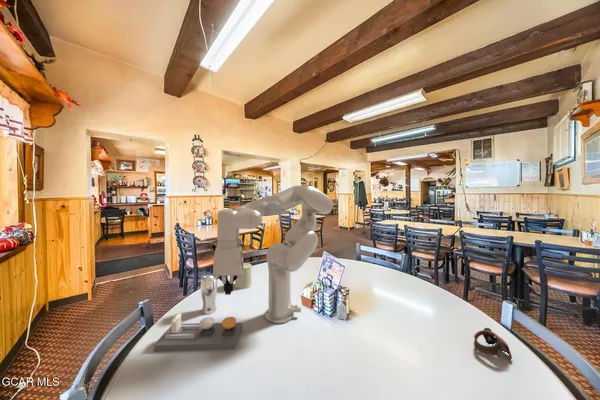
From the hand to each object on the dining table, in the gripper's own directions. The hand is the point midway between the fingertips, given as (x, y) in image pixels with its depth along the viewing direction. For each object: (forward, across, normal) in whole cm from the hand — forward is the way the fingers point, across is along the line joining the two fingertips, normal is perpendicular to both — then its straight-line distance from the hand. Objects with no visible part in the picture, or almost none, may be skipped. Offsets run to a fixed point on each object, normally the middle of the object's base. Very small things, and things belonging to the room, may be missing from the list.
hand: (228, 293), depth 81 cm
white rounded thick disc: (+13, +8, 0) cm, 15 cm away
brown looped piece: (+17, -92, +11) cm, 94 cm away
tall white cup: (+17, +14, -19) cm, 29 cm away
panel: (+17, +10, 0) cm, 20 cm away
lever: (+15, +19, 0) cm, 24 cm away
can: (+17, +4, -45) cm, 48 cm away
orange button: (+13, 0, 0) cm, 13 cm away
